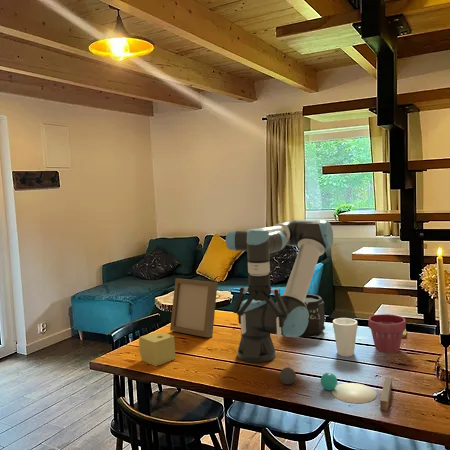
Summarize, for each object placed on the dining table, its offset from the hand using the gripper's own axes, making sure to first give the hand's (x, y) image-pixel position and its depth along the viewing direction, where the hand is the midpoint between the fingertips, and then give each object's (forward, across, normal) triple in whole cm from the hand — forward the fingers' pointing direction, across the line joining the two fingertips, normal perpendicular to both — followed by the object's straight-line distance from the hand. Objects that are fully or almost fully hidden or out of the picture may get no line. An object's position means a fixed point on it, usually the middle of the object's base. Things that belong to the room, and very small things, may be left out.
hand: (261, 334), depth 162 cm
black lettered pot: (+17, +2, +56) cm, 58 cm away
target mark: (+16, +31, 0) cm, 35 cm away
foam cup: (+17, +24, +34) cm, 44 cm away
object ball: (+14, +23, 0) cm, 27 cm away
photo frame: (+17, -46, +42) cm, 65 cm away
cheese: (+17, -46, +6) cm, 49 cm away
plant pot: (+17, +39, +42) cm, 60 cm away
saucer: (+17, +41, +62) cm, 77 cm away
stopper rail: (+16, +41, -1) cm, 44 cm away
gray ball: (+14, +9, 0) cm, 17 cm away
